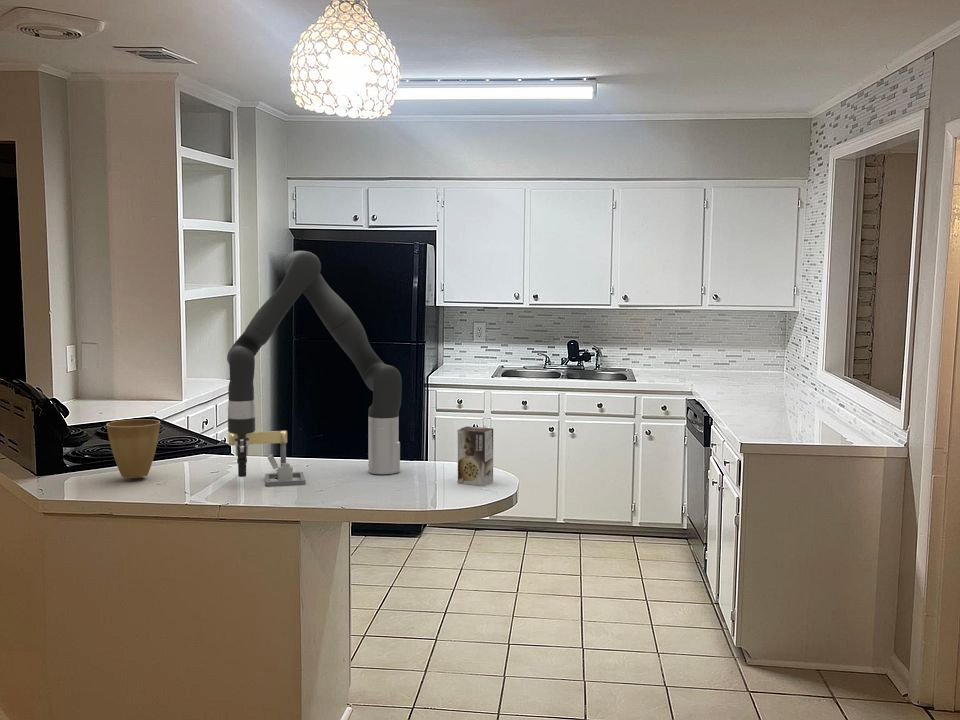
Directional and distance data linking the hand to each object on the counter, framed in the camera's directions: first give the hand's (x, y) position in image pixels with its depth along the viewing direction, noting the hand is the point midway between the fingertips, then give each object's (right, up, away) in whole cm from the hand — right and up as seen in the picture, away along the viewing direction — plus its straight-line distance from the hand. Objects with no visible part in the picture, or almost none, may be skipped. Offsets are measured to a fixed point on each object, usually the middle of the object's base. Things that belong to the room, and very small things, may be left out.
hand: (242, 475), depth 250 cm
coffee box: (+67, -3, +6) cm, 67 cm away
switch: (+10, -2, +9) cm, 13 cm away
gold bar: (+1, +8, +12) cm, 14 cm away
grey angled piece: (+10, -3, +5) cm, 11 cm away
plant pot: (-35, -2, +10) cm, 36 cm away
